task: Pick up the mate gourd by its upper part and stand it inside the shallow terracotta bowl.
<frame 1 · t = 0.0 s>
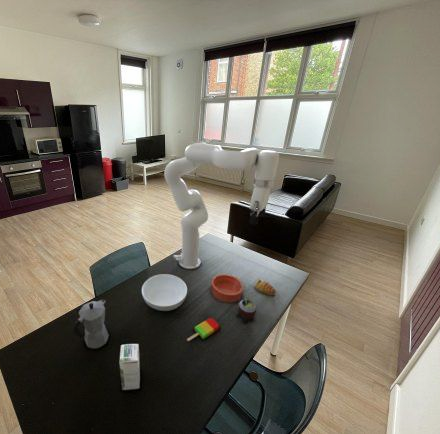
hand: (256, 220, 104), 37 cm above the table, tool pointing down, fingers open, 9 cm apart
popsicle: (201, 333, 96), on the table
syrup box: (131, 381, 79), on the table
terracotta bowl: (226, 291, 117), on the table
mate gourd: (244, 317, 103), on the table
serving bowl: (164, 300, 112), on the table
coffeepot: (94, 340, 93), on the table
pastry: (263, 289, 118), on the table
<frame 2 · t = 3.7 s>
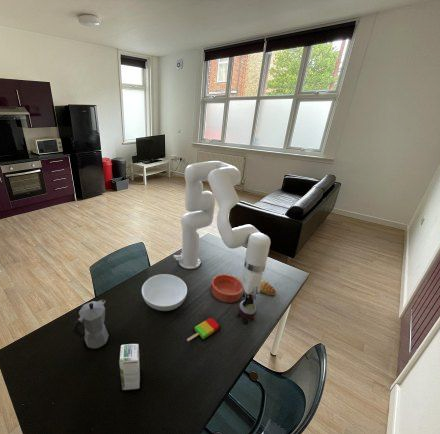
hand: (247, 300, 99), 10 cm above the table, tool pointing down, fingers closed
mate gourd: (244, 316, 103), on the table, touching gripper
everything else where it was.
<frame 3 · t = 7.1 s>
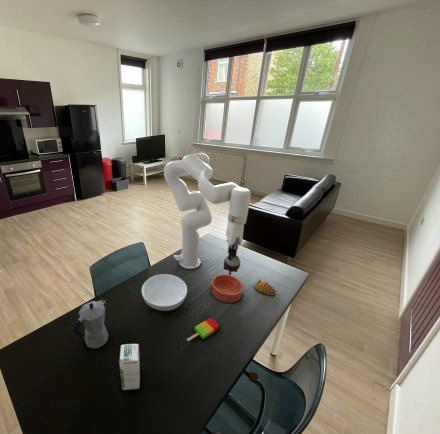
hand: (231, 254, 107), 22 cm above the table, tool pointing down, fingers closed on mate gourd
mate gourd: (229, 269, 111), point 13 cm above the table, touching gripper
everything else where it was.
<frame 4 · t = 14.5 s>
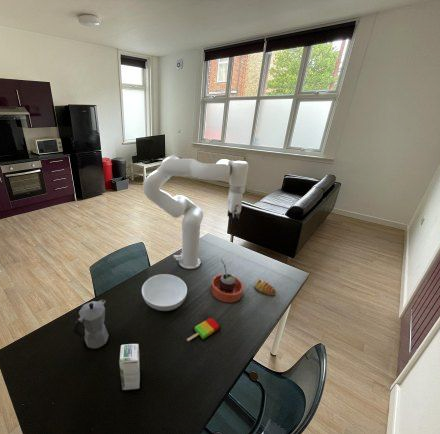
hand: (232, 220, 120), 30 cm above the table, tool pointing down, fingers open, 9 cm apart
mate gourd: (225, 290, 117), resting on terracotta bowl
everything else where it was.
at the end: mate gourd inside the target area in the terracotta bowl (0.9 cm from its centre), point 0.4 cm above the terracotta bowl's base; mate gourd tilted 0°; the gripper is holding nothing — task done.
